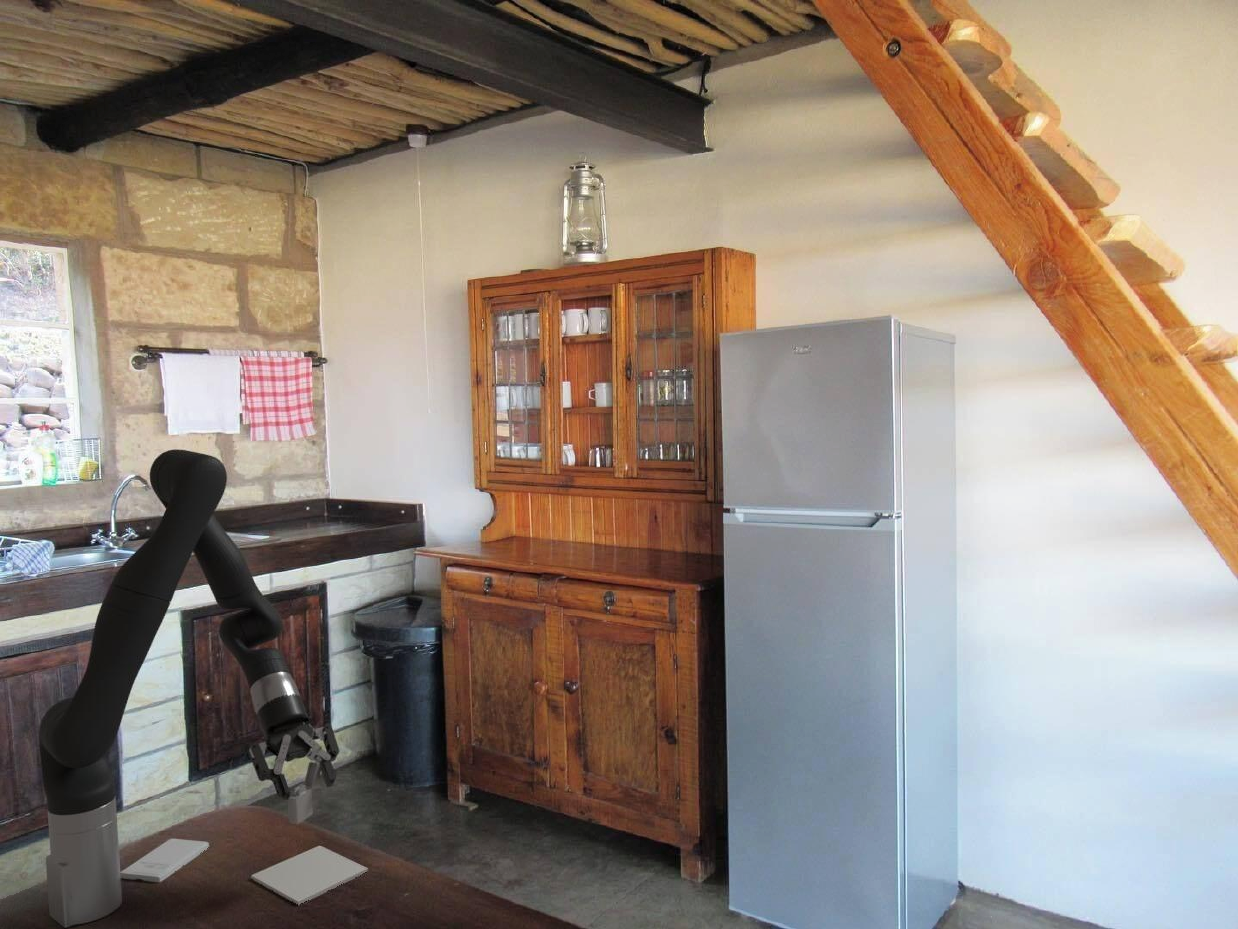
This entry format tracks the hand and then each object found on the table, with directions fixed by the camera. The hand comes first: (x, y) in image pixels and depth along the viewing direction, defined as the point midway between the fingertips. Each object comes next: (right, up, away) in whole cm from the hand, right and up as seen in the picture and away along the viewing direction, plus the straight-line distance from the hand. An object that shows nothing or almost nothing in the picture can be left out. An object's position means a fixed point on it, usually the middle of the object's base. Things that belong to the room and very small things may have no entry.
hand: (309, 791), depth 153 cm
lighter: (-1, -5, +1) cm, 5 cm away
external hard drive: (-28, -16, +8) cm, 33 cm away
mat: (-1, -15, +2) cm, 15 cm away
